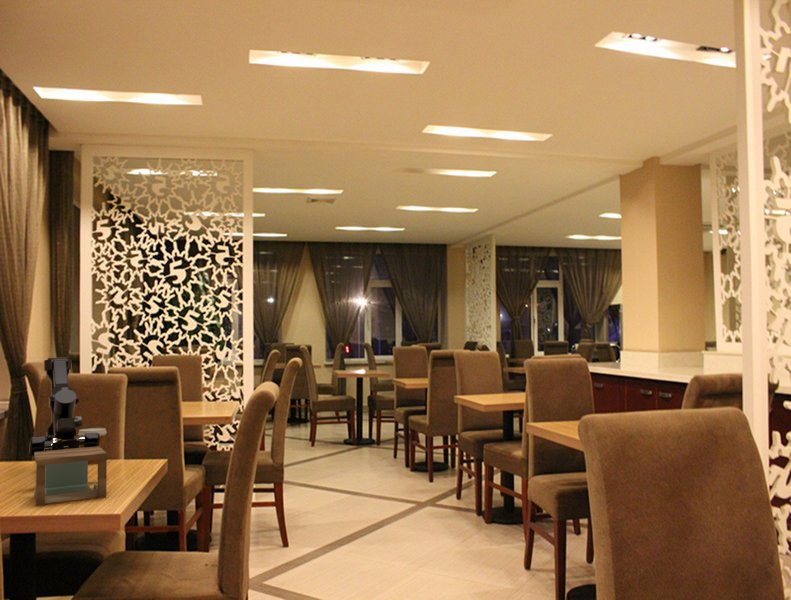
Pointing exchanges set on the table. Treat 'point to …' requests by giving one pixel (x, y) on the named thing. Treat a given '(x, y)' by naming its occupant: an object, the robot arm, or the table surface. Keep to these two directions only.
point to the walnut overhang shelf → (67, 457)
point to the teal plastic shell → (66, 477)
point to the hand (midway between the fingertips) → (66, 466)
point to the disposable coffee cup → (101, 443)
